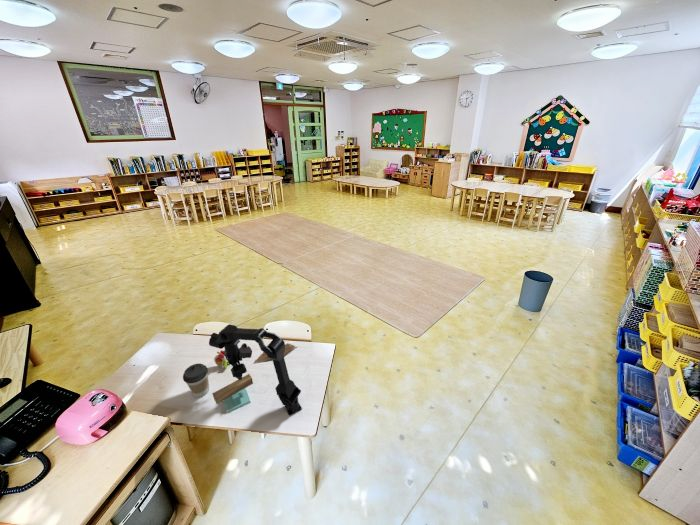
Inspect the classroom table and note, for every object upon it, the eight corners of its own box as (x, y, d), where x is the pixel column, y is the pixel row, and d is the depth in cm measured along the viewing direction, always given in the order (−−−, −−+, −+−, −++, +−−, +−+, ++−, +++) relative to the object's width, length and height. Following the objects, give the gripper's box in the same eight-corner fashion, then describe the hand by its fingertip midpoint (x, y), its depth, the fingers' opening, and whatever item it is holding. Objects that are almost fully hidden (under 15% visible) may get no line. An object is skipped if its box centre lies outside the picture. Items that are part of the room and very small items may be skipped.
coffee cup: (198, 381, 158) (191, 360, 151) (218, 384, 156) (211, 362, 150) (184, 399, 148) (176, 378, 141) (205, 402, 146) (197, 380, 139)
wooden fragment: (293, 341, 185) (293, 340, 184) (299, 353, 176) (298, 351, 175) (251, 356, 175) (251, 354, 174) (255, 368, 166) (254, 367, 165)
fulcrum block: (250, 402, 145) (248, 393, 143) (227, 413, 140) (224, 404, 138) (244, 387, 154) (242, 378, 151) (222, 396, 149) (220, 388, 146)
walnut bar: (253, 383, 148) (251, 377, 147) (216, 404, 138) (214, 398, 136) (250, 379, 151) (248, 373, 149) (214, 399, 140) (212, 393, 139)
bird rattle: (217, 373, 166) (230, 369, 163) (205, 358, 162) (218, 354, 159) (223, 365, 171) (235, 361, 169) (212, 350, 167) (224, 346, 165)
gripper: (254, 354, 136) (260, 378, 143) (243, 332, 150) (248, 355, 157) (229, 364, 131) (236, 389, 137) (220, 341, 145) (227, 364, 151)
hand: (238, 373), depth 146 cm, fingers open, 9 cm apart
